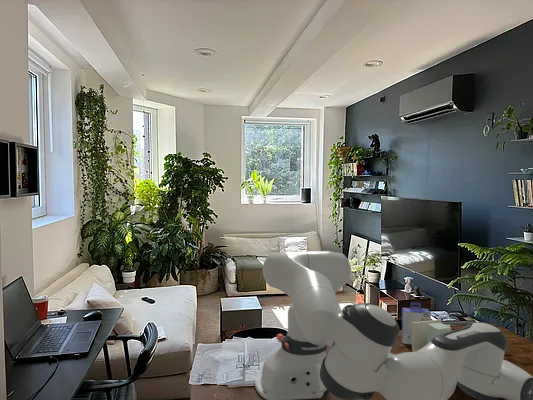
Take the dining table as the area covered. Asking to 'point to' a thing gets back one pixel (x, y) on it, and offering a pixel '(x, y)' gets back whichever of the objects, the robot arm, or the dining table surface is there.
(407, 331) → the ink cartridge box
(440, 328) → the box
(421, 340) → the carton
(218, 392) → the dining table surface
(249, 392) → the dining table surface
